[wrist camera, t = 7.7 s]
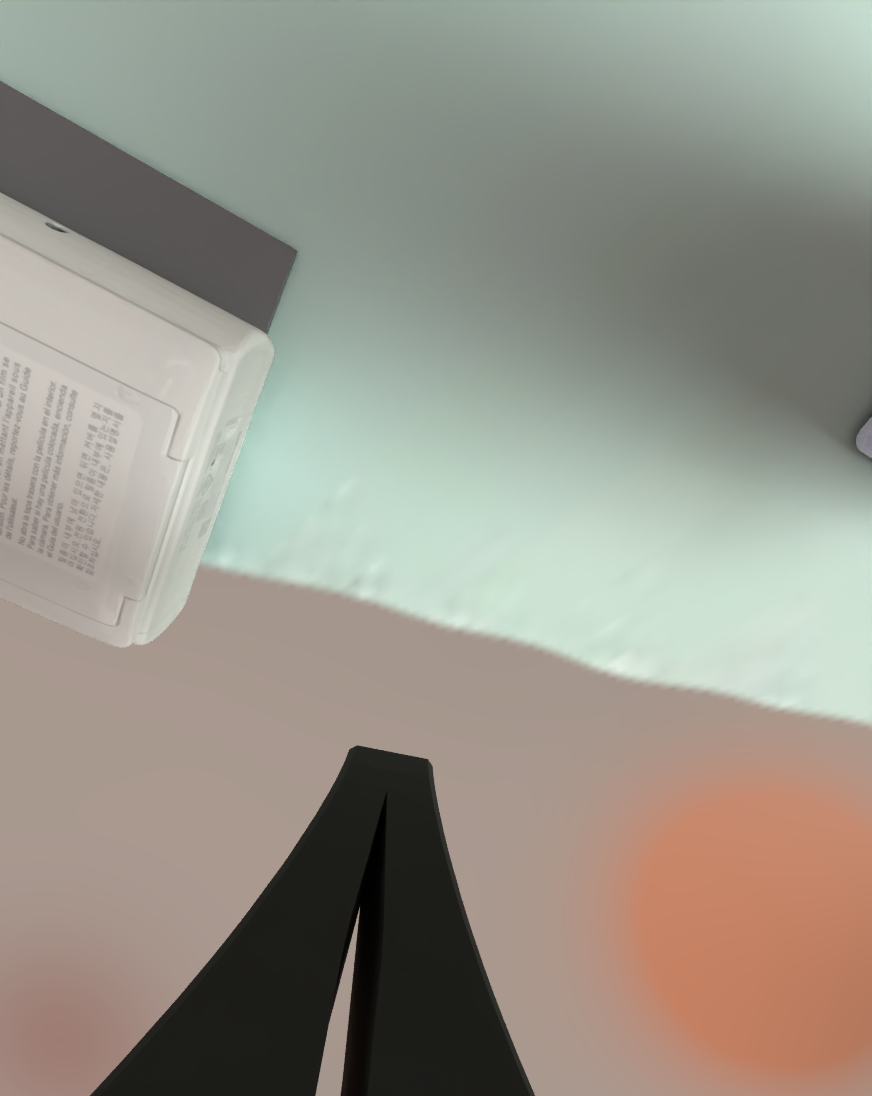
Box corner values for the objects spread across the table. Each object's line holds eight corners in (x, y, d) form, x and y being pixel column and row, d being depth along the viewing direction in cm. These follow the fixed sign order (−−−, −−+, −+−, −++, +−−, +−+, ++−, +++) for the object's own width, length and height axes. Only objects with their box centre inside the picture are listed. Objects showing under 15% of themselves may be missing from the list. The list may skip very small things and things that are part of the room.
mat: (297, 251, 15) (295, 249, 14) (158, 628, 19) (155, 631, 19) (-24, 67, 13) (-31, 63, 13) (-88, 520, 18) (-94, 521, 18)
